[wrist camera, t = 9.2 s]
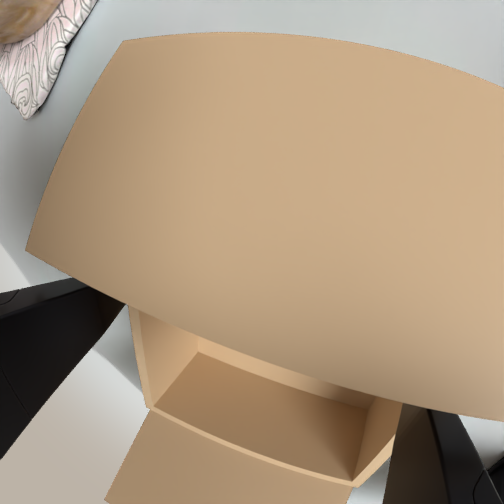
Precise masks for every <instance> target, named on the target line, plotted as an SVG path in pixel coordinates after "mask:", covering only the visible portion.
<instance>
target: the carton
mask: <svg viewBox="0 0 504 504" xmlns="http://www.w3.org/2000/svg"><path fill="white" fill-rule="evenodd" d="M128 309H129V317H130V324H131V330H132V337H133V343H134V349H135V355H136V360H137V366H138V371H139V376H140V381H141V386H142V391H143V395H144V400H145V404H146V407H147V408H149V409H150V410H152V411H154V412H156V413H158V414H160V415H162V416H164V417H165V418H167V419H169V420H171V421H173V422H175V423H177V424H179V425H181V426H183V427H185V428H187V429H189V430H191V431H194V432H196V433H198V434H200V435H202V436H204V437H207V438H209V439H211V440H213V441H216V442H218V443H220V444H223V445H225V446H227V447H230V448H232V449H235V450H237V451H240V452H242V453H245V454H247V455H250V456H252V457H255V458H258V459H261V460H263V461H266V462H269V463H272V464H275V465H278V466H281V467H284V468H287V469H290V470H293V471H296V472H299V473H303V474H306V475H309V476H313V477H316V478H320V479H324V480H327V481H331V482H335V483H339V484H343V485H348V486H352V487H356V488H359V487H360V486H361V485H362V484H363V483H364V482H365V481H366V480H367V479H368V478H369V477H370V476H371V475H372V474H373V473H374V472H375V471H376V470H377V469H378V468H379V467H380V466H381V465H382V464H383V463H384V462H385V461H386V460H387V459H388V458H389V457H390V456H391V454H392V448H393V443H394V438H395V434H396V430H397V426H398V422H399V418H400V413H401V409H402V404H403V403H402V402H398V401H394V400H390V399H386V398H382V397H378V396H375V395H371V394H367V393H363V392H360V391H356V390H353V389H349V388H346V387H342V386H339V385H335V384H332V383H329V382H326V381H322V380H319V379H316V378H313V377H310V376H306V375H303V374H300V373H297V372H294V371H291V370H288V369H285V368H282V367H279V366H276V365H274V364H271V363H268V362H265V361H262V360H259V359H257V358H254V357H251V356H248V355H246V354H243V353H240V352H238V351H235V350H232V349H230V348H227V347H225V346H222V345H220V344H217V343H214V342H212V341H209V340H207V339H205V338H202V337H200V336H197V335H195V334H192V333H190V332H188V331H185V330H183V329H180V328H178V327H176V326H173V325H171V324H169V323H167V322H164V321H162V320H160V319H158V318H155V317H153V316H151V315H149V314H146V313H144V312H142V311H140V310H138V309H136V308H133V307H131V306H129V305H128Z"/></svg>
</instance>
